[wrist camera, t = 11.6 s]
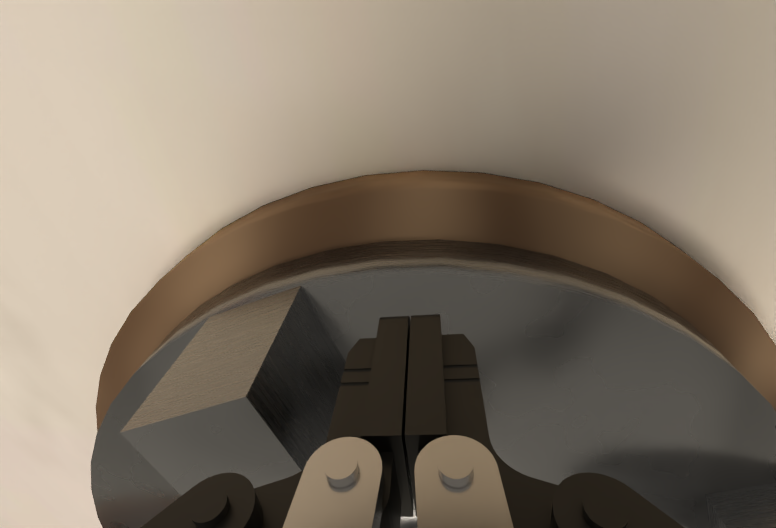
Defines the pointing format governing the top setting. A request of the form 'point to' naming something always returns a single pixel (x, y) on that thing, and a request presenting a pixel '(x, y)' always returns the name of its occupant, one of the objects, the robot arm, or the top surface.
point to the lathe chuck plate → (496, 371)
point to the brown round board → (448, 222)
